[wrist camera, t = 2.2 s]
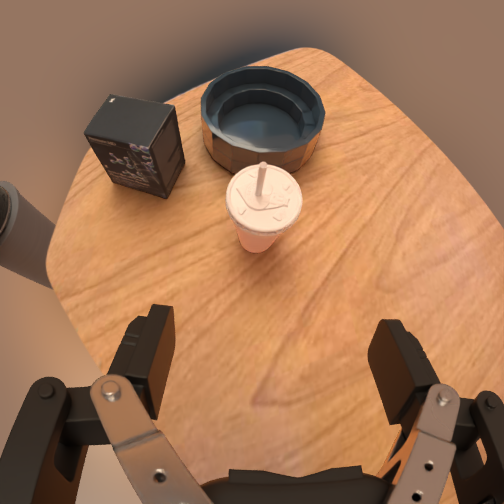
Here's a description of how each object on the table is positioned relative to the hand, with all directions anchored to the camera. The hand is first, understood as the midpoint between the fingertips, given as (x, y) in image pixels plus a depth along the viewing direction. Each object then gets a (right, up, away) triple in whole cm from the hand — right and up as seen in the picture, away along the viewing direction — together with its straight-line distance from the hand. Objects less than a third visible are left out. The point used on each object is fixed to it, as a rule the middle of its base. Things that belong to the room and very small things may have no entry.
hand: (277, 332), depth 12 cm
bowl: (0, +18, +28) cm, 33 cm away
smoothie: (-1, +5, +23) cm, 24 cm away
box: (-14, +13, +25) cm, 31 cm away
